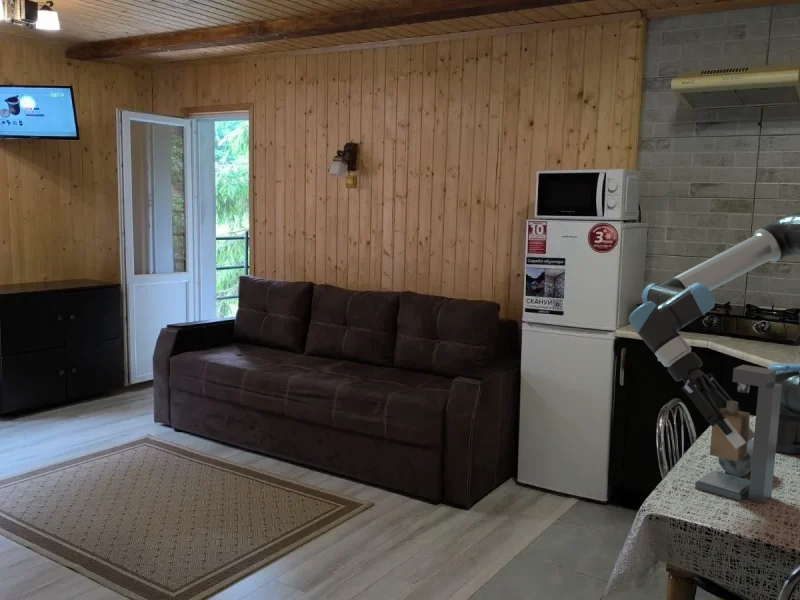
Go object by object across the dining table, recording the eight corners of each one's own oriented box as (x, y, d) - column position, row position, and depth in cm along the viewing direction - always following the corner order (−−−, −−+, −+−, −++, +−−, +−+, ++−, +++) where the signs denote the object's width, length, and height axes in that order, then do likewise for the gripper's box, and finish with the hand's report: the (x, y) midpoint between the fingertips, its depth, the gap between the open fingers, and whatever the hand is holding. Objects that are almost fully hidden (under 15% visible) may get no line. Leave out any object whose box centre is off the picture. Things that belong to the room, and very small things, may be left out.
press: (711, 477, 171) (721, 359, 167) (774, 494, 161) (786, 369, 158) (695, 488, 164) (705, 365, 160) (759, 506, 154) (771, 376, 150)
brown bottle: (719, 448, 167) (723, 397, 165) (746, 455, 163) (750, 402, 161) (709, 454, 163) (714, 401, 161) (737, 461, 159) (741, 407, 157)
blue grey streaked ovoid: (756, 472, 166) (742, 430, 169) (716, 480, 171) (704, 440, 175) (775, 472, 175) (762, 432, 179) (737, 480, 181) (725, 441, 185)
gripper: (683, 362, 178) (747, 441, 169) (650, 374, 164) (717, 461, 155) (706, 345, 173) (773, 424, 164) (674, 356, 160) (745, 443, 151)
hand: (746, 442), depth 160 cm, fingers closed on brown bottle, 6 cm apart
